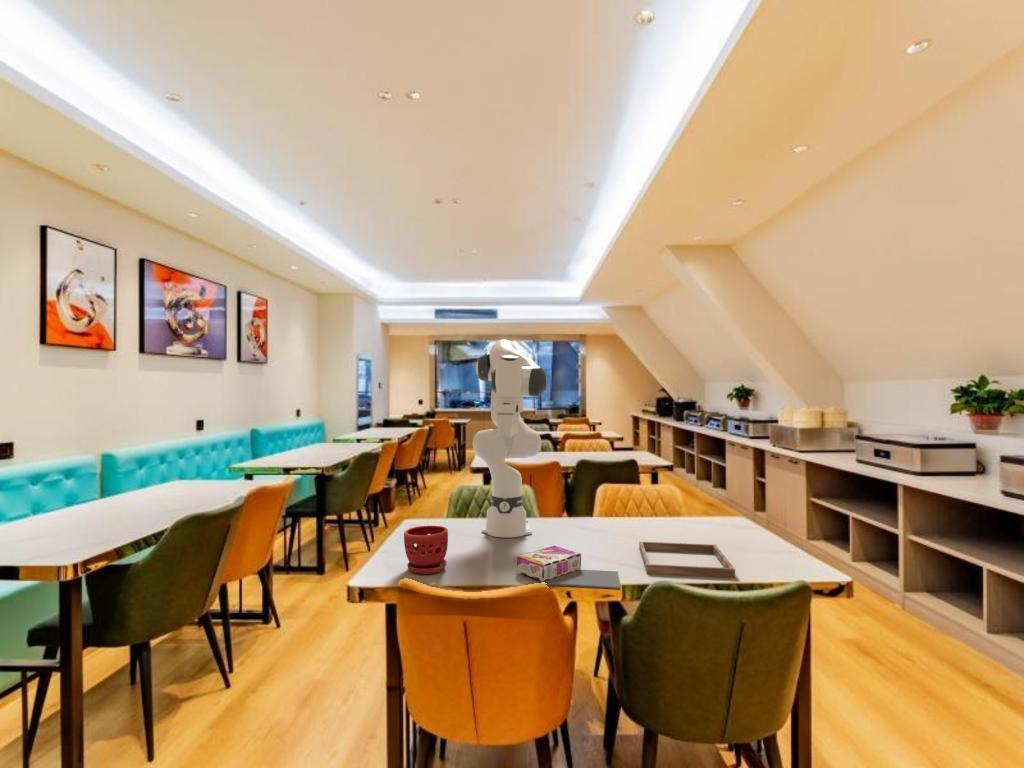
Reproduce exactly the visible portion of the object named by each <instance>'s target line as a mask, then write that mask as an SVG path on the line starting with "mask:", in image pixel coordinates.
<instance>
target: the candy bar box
mask: <svg viewBox="0 0 1024 768" xmlns="http://www.w3.org/2000/svg"><path fill="white" fill-rule="evenodd" d="M516 561H517V563H516V565H517V567H516V568H517V569H516V571H517V572H518V573H521V574H523V575H525V576H528V577H531V578H533V579H535V580H538V581H539V582H540V581H543V582H544V581H546V580H549V579H552V578H555V577H558V576H561V575H564V574H567V573H570V572H573V571H576V570H579V569H580V570H582V553H579V552H576V551H573V550H570V549H566V548H563V547H560V546H558V545H557V546H556V545H552V546H549V547H544V548H541V549H538V550H533V551H531V552H530V551H529V552H526V553H523V554H520V555H517V556H516Z"/></svg>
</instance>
